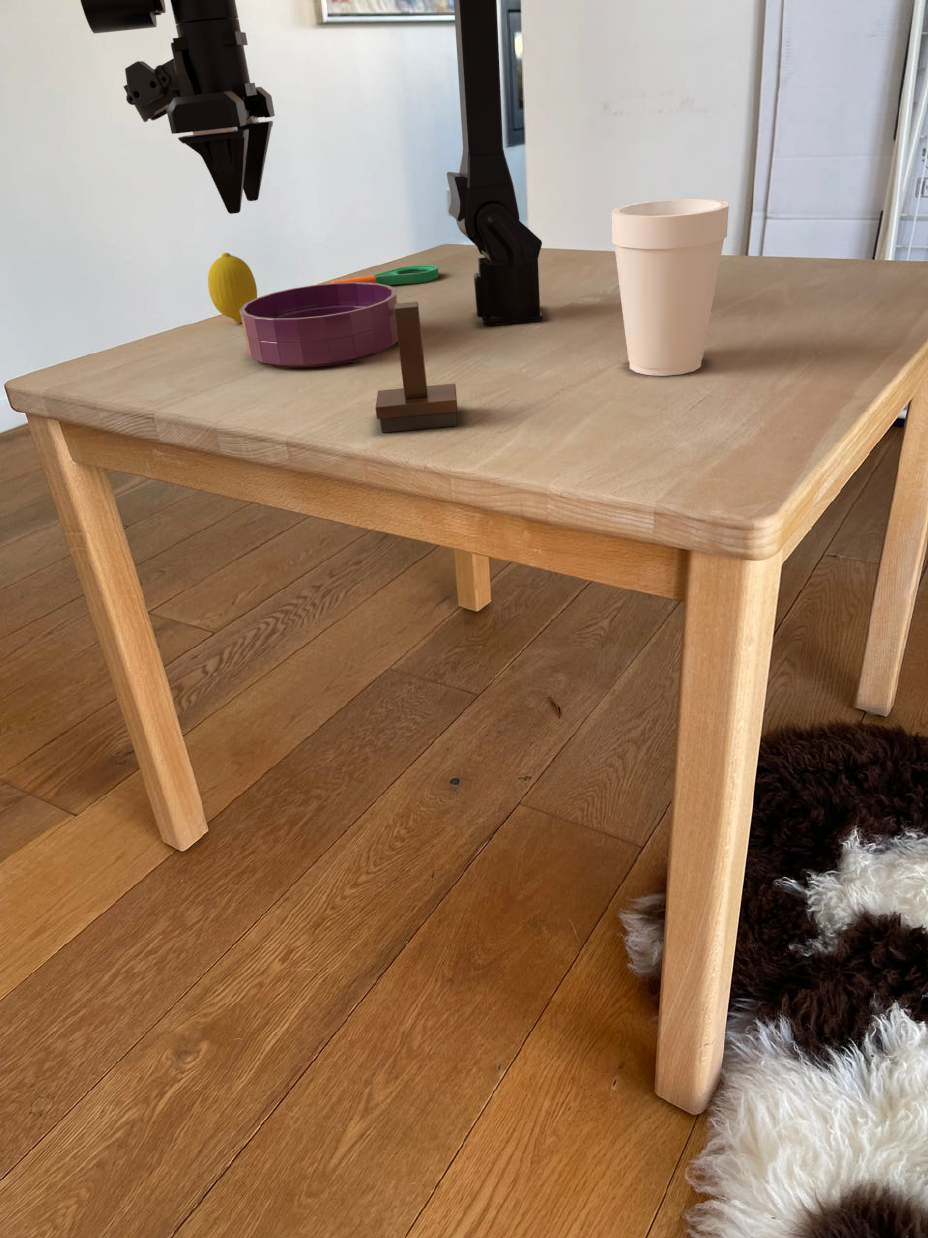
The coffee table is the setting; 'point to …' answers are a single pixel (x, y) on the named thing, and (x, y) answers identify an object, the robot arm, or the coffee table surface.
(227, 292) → the lemon
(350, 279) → the magnifying glass
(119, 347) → the coffee table surface
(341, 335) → the bowl
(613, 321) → the coffee table surface
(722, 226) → the foam cup
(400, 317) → the brush
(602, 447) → the coffee table surface
